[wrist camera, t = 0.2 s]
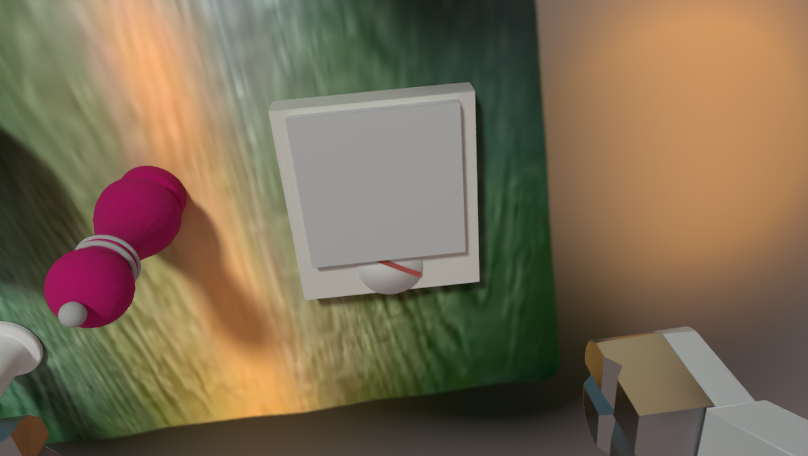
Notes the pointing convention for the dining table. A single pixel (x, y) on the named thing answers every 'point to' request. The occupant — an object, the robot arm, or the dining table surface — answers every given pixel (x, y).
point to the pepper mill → (116, 248)
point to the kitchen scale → (381, 188)
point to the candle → (17, 352)
